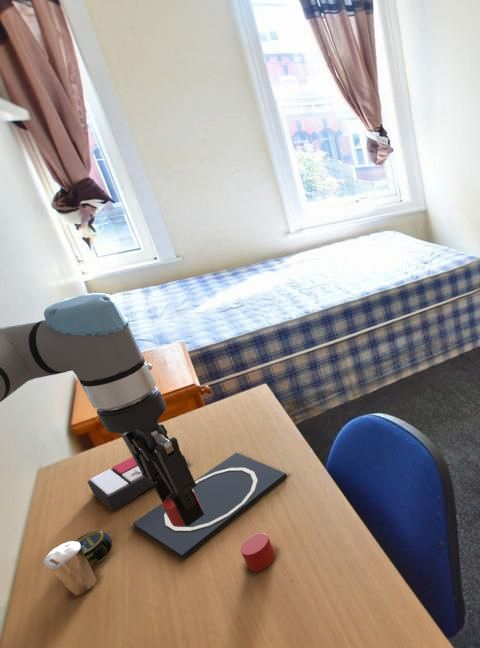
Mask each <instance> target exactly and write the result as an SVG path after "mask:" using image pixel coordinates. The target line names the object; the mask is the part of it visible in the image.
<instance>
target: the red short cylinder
mask: <svg viewBox="0 0 480 648" xmlns="http://www.w3.org/2000/svg"><path fill="white" fill-rule="evenodd" d="M240 553H241V555H242V558H243V559H244V561H245V564H246V566H247V568H248V570H250V571H252V572H258V571H261V570H264V569H265V568H267V567H268V566H269V565H270V564H271V563H272V562H273V561H274V559H275V558H276V557H275V556H276V551H275V549H274V547H273V545H272V543H271V540H270V538H269V535H268V534H266V533H263V532H262V533H256V534H253V535H252V536H250V537H249V538H247V539H246V540H245V541H244V542H243V543H242V545H241V547H240Z"/></svg>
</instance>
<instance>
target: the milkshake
mask: <svg viewBox="0 0 480 648" xmlns="http://www.w3.org/2000/svg"><path fill="white" fill-rule="evenodd" d="M43 563H44V565H45V567H46V568H48V569H49V571H51V572H52V573H53V574H54V575H55V576H56V577H57V578H58V579H59V580H60V581H61V582H62V583H63V584H64V586H65V587H66V588H67V589H68V590H69V591H70V592H71V593H72V595H75V596H79V595H82V594H84V593H86V592H88V591H90V590H91V589H92V588H93V587H94V586H95V585H96V583H97V577H96V575H95V573H94V570H93V569H92V566H90V565H89V563H88V561H87V559H86V557H85V555H84V552H83V550H82V548H81V545H80V543H79V542H74V541H67V542H65V543H61V544H60V545H58V546H57V547H55V548H53V549H52V550H51V551H50V552H49V553H48V554H47V555H46V556H45V558H44V562H43Z"/></svg>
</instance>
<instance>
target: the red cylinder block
mask: <svg viewBox="0 0 480 648" xmlns="http://www.w3.org/2000/svg"><path fill="white" fill-rule="evenodd" d="M192 490H193V489H192ZM193 492H194V490H193ZM194 494H195V493H194ZM195 496H196V495H195ZM196 498H197V497H196ZM197 501H198V499H197ZM198 503H199V501H198ZM199 505H200V503H199ZM162 506H163V509H164V510H165V512H166V514H167V516H168V518H169V520H170V522H171V524H172V525H173V526H175V527H181V526H185V524H184V522H183V520H182V519H181V517H180V515H179V513H178V511H177V509H176V507H175V505H174V503H173V501H172V499H171V500H169V499H168V498H166V499H165V500H164V502H163V504H162ZM200 507H201V505H200ZM201 509H202V507H201Z"/></svg>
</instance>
